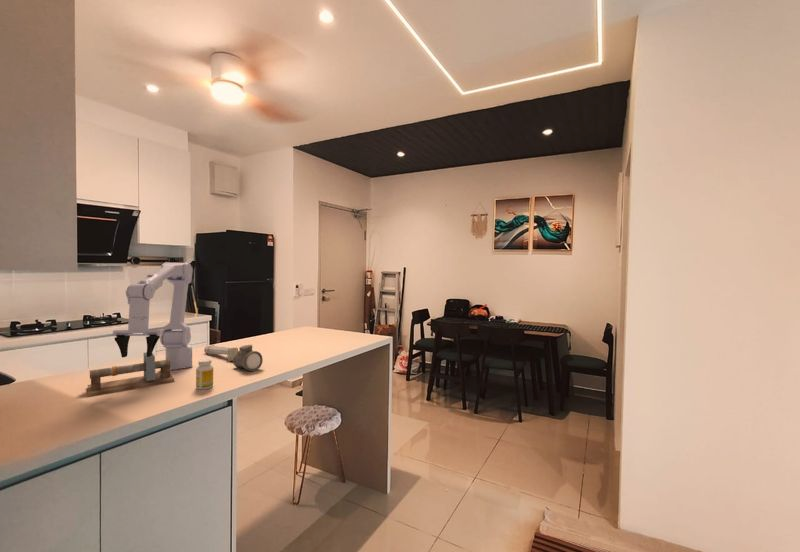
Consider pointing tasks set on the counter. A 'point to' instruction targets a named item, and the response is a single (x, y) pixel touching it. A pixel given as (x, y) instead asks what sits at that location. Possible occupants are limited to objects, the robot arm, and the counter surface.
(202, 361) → the supplement bottle
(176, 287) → the robot arm
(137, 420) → the counter surface
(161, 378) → the pipe stand
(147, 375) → the collar
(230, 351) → the grey handle
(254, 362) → the pipe fitting
